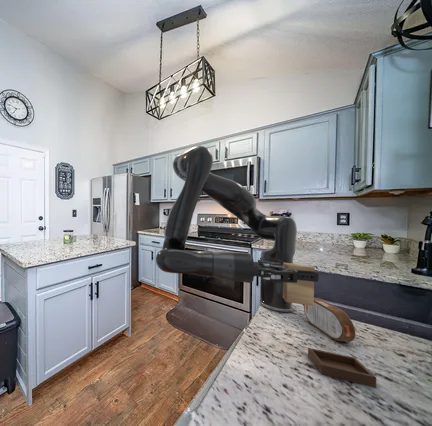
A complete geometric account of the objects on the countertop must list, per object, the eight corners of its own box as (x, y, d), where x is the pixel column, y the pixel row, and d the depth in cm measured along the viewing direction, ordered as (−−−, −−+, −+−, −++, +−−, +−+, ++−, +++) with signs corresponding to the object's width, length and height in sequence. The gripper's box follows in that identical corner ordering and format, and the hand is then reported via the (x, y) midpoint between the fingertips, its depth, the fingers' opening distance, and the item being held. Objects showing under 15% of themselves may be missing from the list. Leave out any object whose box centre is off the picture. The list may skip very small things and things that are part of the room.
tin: (356, 349, 52) (357, 316, 52) (341, 347, 53) (342, 314, 53) (312, 319, 67) (312, 293, 67) (301, 318, 68) (301, 292, 68)
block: (282, 297, 53) (283, 262, 53) (307, 301, 51) (308, 264, 51) (287, 302, 50) (287, 265, 50) (313, 306, 48) (314, 267, 48)
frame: (307, 355, 50) (307, 347, 50) (354, 366, 47) (355, 357, 47) (321, 374, 44) (321, 364, 44) (376, 387, 41) (376, 377, 41)
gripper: (235, 257, 50) (330, 266, 43) (228, 248, 63) (301, 253, 56) (234, 288, 50) (330, 302, 43) (227, 273, 63) (300, 281, 56)
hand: (313, 274), depth 50 cm, fingers closed on block, 3 cm apart
